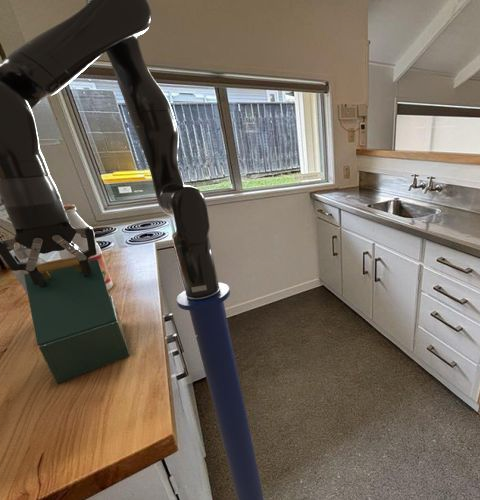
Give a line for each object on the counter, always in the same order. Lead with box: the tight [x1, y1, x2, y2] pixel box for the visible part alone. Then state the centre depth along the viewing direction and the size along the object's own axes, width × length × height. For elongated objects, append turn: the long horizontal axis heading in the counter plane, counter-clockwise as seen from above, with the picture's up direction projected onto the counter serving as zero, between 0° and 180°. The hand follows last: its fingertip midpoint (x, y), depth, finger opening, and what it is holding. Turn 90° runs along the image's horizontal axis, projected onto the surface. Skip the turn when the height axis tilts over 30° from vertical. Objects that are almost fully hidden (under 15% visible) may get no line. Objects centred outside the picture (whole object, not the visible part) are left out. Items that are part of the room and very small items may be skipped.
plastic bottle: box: [12, 246, 47, 296], centre depth 74 cm, size 6×7×20 cm
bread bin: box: [38, 295, 130, 385], centre depth 63 cm, size 16×12×9 cm
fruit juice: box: [58, 203, 114, 291], centre depth 87 cm, size 9×9×28 cm
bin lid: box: [24, 257, 117, 347], centre depth 57 cm, size 16×12×5 cm
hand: (65, 280), depth 59 cm, fingers closed on bin lid, 6 cm apart
